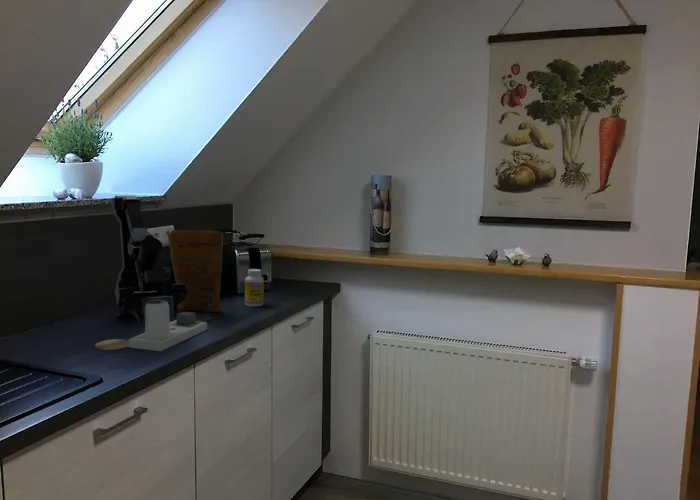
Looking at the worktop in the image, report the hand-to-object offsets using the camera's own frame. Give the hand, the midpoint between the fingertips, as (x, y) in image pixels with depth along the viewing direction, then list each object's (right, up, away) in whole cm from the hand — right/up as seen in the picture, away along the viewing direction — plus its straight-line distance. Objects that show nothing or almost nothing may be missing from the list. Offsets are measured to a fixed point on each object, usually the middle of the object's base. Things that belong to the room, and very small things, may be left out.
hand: (158, 320), depth 166 cm
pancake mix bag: (0, -2, +42) cm, 42 cm away
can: (-1, -7, +2) cm, 7 cm away
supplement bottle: (+18, -1, +52) cm, 55 cm away
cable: (+7, -4, +25) cm, 26 cm away
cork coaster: (-12, -7, -1) cm, 14 cm away
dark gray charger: (+3, -3, +15) cm, 16 cm away
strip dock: (+1, -6, +8) cm, 10 cm away
